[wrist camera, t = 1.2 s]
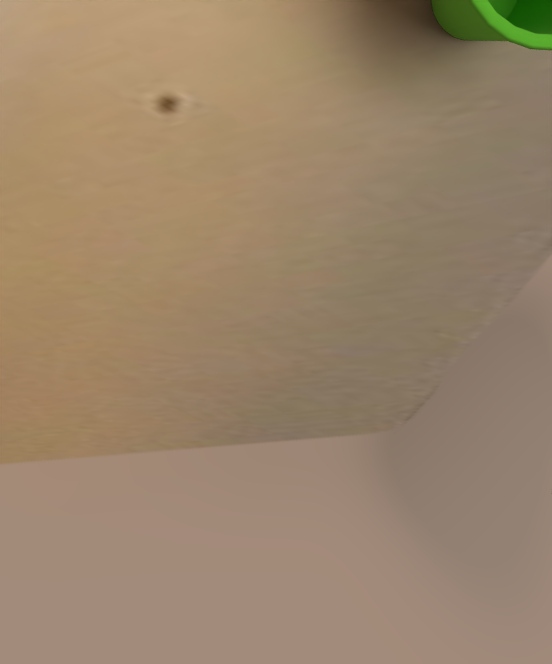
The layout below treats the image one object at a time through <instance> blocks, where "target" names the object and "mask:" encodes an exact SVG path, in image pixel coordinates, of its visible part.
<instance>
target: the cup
mask: <svg viewBox="0 0 552 664" xmlns="http://www.w3.org/2000/svg"><path fill="white" fill-rule="evenodd" d="M431 3H432V9H433V12H434V15H435V17H436V19H437V22H438V23H439V24H440V25H441V27H442V28H443V29H444V30H445V31H446V32H447V33H449V34H450V35H452V36H453V37H456V38H459V39H462V40H475V41H509V42H512V43H515V44H518V45H521V46H523V47H526V48H529V49H538V50H552V0H431Z"/></svg>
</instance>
